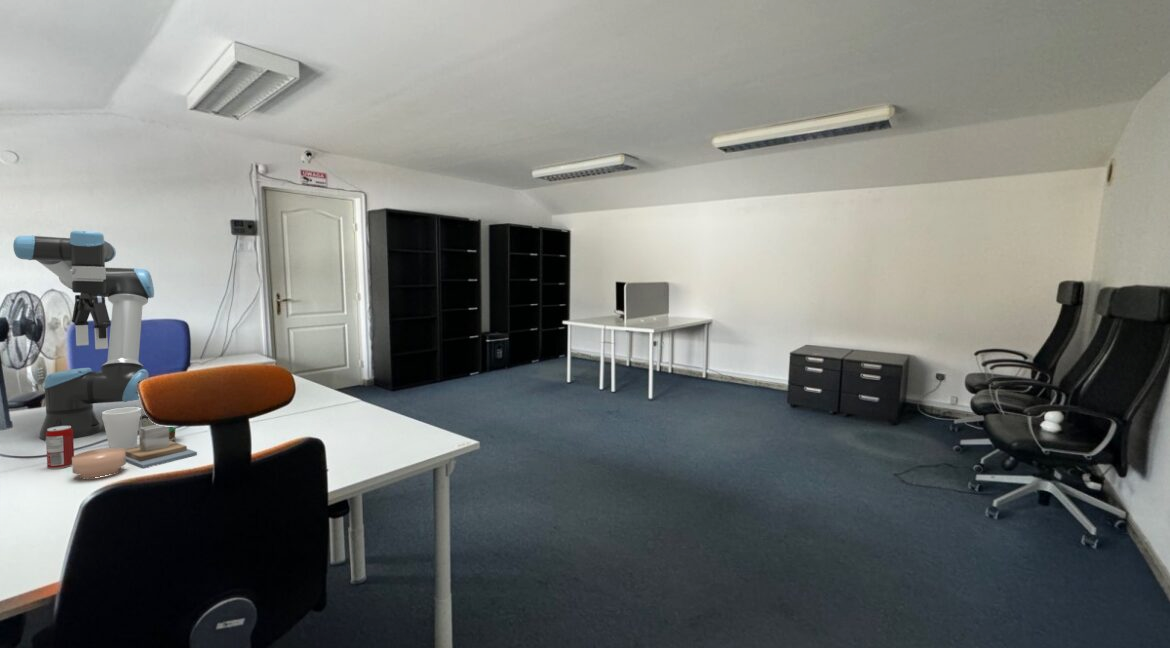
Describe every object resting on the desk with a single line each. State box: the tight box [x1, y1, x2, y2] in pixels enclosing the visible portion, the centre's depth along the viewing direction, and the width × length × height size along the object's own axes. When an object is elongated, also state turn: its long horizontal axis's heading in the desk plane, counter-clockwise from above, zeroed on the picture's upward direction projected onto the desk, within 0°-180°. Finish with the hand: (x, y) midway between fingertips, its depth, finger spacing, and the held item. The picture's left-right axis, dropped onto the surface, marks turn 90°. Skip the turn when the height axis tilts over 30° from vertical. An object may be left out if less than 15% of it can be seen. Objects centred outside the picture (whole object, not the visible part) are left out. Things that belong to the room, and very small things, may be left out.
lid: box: [125, 425, 188, 462], centre depth 157 cm, size 12×12×8 cm
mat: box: [126, 448, 198, 469], centre depth 157 cm, size 20×14×1 cm
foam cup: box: [101, 406, 142, 449], centre depth 162 cm, size 10×9×13 cm
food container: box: [140, 412, 177, 442], centre depth 172 cm, size 12×6×10 cm, turn 84°
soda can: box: [45, 426, 75, 470], centre depth 146 cm, size 6×6×12 cm
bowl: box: [71, 447, 127, 480], centre depth 141 cm, size 11×11×6 cm
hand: (91, 347), depth 155 cm, fingers open, 13 cm apart
